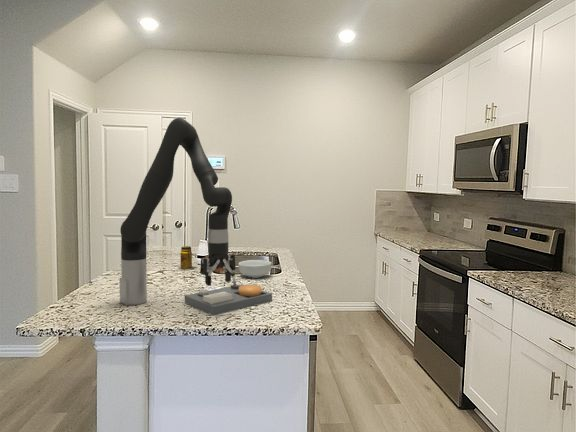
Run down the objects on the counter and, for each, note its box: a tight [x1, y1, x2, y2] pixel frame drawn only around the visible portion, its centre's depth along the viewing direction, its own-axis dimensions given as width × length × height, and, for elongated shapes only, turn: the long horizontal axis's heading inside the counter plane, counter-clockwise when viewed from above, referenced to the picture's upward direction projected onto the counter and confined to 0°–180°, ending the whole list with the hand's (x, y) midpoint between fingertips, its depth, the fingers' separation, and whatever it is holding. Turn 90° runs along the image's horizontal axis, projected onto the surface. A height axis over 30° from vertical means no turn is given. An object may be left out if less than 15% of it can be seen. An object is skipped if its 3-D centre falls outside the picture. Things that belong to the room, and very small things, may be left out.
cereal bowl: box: [238, 259, 273, 279], centre depth 212 cm, size 17×17×7 cm
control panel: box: [184, 284, 273, 316], centre depth 165 cm, size 28×20×4 cm
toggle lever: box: [231, 271, 237, 285], centre depth 175 cm, size 2×2×6 cm
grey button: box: [198, 289, 209, 296], centre depth 164 cm, size 4×4×2 cm
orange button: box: [239, 284, 263, 296], centre depth 167 cm, size 9×9×2 cm
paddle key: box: [203, 292, 233, 304], centre depth 157 cm, size 10×5×2 cm, turn 134°
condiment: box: [178, 245, 197, 271], centre depth 228 cm, size 7×8×12 cm
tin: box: [203, 254, 229, 272], centre depth 225 cm, size 15×3×8 cm, turn 62°
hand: (218, 283), depth 157 cm, fingers open, 8 cm apart
